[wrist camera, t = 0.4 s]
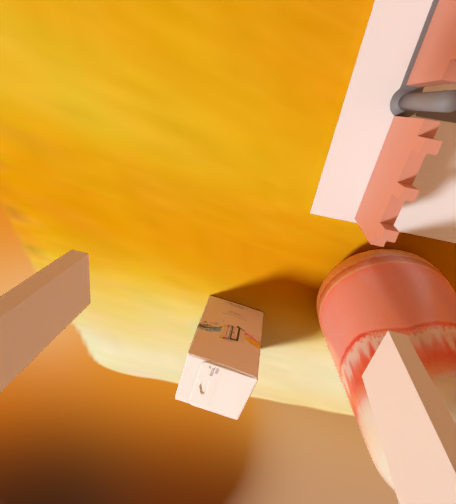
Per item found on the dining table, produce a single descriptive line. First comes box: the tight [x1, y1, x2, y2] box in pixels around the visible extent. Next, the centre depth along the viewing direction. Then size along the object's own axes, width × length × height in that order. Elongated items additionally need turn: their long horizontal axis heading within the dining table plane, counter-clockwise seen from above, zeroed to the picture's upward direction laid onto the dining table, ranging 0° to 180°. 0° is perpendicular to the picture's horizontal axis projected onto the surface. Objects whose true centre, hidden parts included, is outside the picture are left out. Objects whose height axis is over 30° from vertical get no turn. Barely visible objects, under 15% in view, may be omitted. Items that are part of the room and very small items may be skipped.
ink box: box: [175, 296, 264, 420], centre depth 39 cm, size 9×8×12 cm
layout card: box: [310, 0, 456, 243], centre depth 28 cm, size 23×18×1 cm
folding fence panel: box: [355, 116, 443, 247], centre depth 27 cm, size 11×1×9 cm, turn 171°
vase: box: [316, 249, 456, 492], centre depth 24 cm, size 14×14×30 cm
